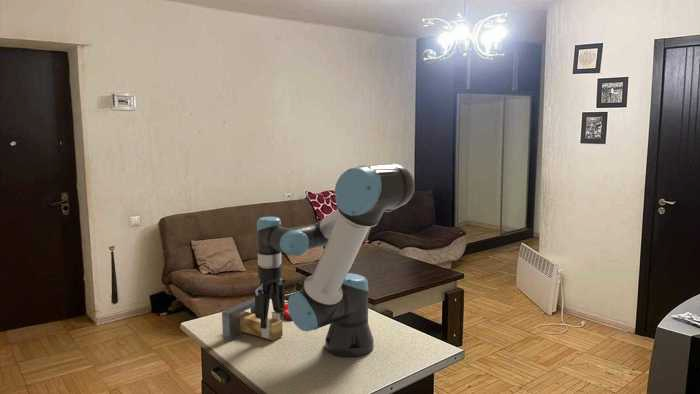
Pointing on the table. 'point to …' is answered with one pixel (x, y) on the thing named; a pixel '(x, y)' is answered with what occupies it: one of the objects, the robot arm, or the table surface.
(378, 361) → the table surface
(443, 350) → the table surface
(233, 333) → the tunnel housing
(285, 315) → the race car
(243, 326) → the tan long block
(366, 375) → the table surface
